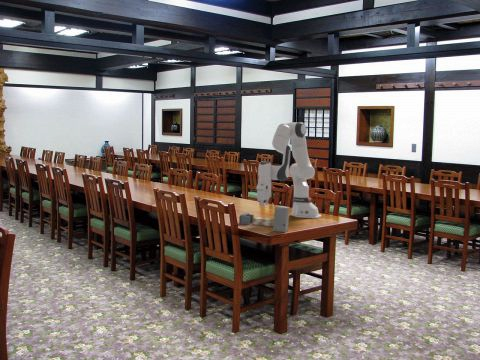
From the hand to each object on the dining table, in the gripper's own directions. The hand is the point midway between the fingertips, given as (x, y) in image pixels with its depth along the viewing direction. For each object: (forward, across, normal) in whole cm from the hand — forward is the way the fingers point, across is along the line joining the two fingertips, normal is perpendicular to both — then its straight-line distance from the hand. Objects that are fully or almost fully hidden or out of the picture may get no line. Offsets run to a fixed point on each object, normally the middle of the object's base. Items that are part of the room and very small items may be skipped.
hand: (264, 205), depth 341 cm
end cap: (+13, 0, -13) cm, 18 cm away
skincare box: (+13, +15, +16) cm, 25 cm away
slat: (+13, 0, -1) cm, 13 cm away
